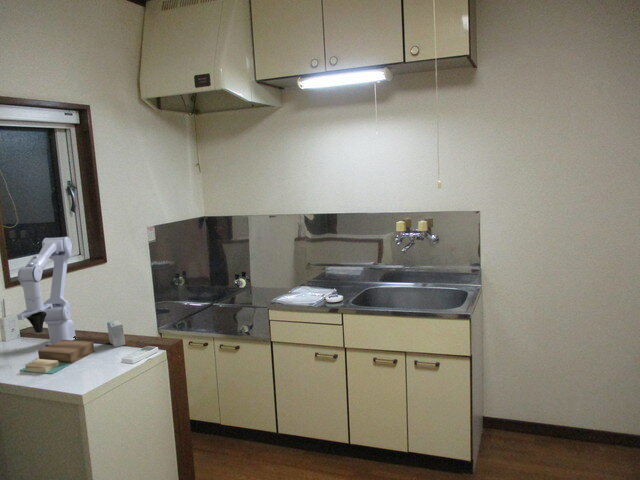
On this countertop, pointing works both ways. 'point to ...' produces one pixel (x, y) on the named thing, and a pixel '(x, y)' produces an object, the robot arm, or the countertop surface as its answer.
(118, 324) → the medicine box
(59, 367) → the mat
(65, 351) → the block
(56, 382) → the countertop surface
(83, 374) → the countertop surface
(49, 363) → the cream rectangular block
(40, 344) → the countertop surface
